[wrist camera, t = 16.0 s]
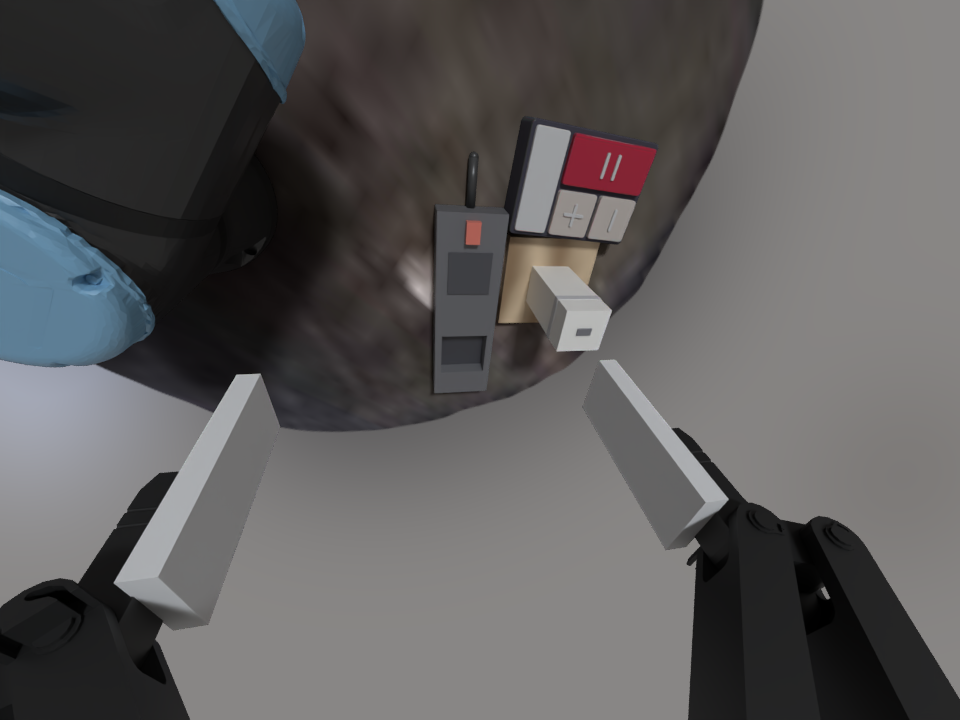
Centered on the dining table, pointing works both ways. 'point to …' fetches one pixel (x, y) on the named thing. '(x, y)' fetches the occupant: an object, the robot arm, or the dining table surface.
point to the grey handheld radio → (466, 289)
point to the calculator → (575, 181)
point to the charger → (567, 308)
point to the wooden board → (538, 253)
